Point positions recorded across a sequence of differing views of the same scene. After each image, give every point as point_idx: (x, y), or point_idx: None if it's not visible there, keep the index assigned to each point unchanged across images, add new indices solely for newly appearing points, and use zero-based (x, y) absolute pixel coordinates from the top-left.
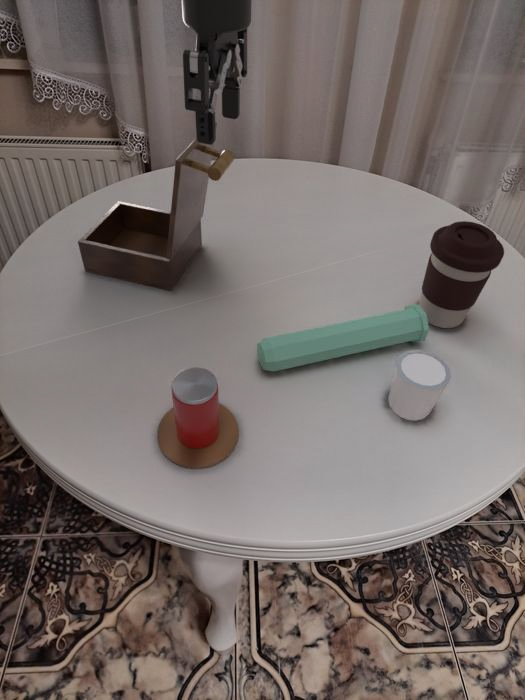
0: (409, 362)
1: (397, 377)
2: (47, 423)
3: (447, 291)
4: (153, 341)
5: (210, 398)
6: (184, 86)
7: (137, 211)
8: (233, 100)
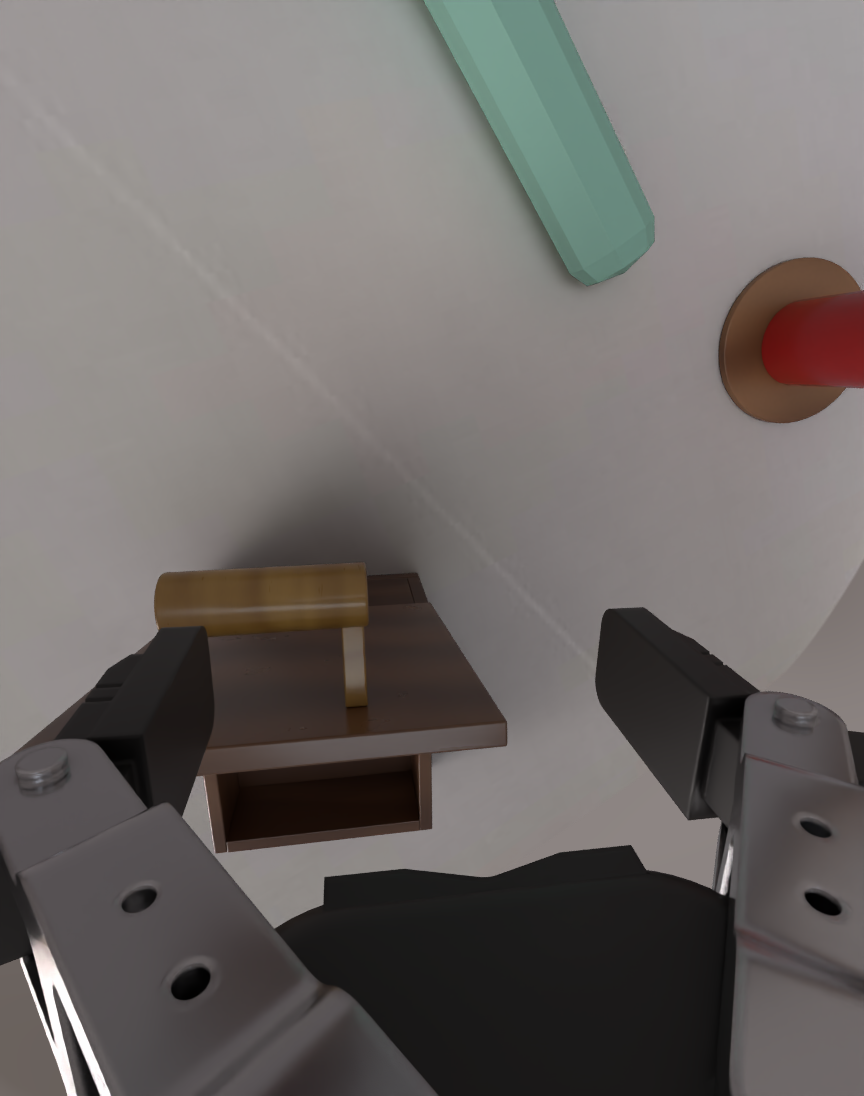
0: None
1: None
2: (802, 601)
3: None
4: (584, 533)
5: None
6: None
7: (222, 789)
8: (178, 714)
